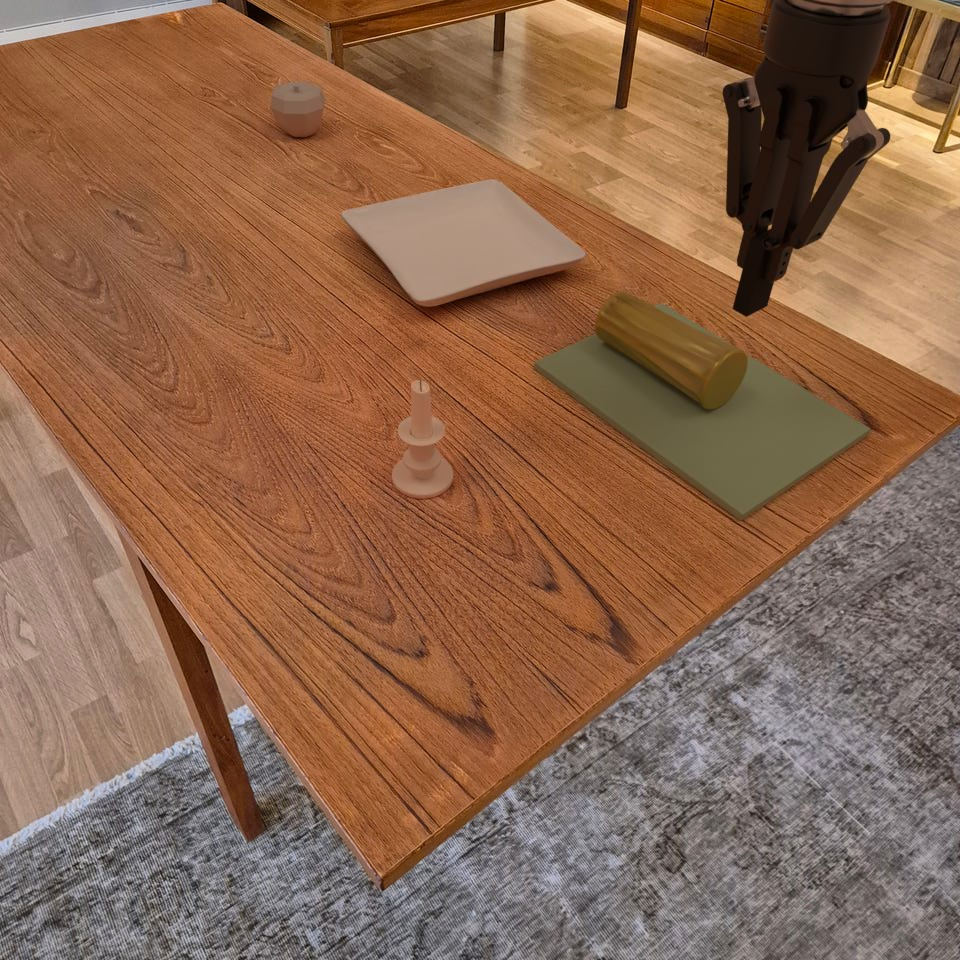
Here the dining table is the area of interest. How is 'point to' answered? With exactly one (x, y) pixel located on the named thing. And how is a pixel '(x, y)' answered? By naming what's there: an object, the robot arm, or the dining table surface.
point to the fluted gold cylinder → (672, 349)
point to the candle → (421, 450)
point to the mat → (709, 422)
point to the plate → (462, 241)
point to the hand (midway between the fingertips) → (749, 307)
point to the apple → (298, 107)
